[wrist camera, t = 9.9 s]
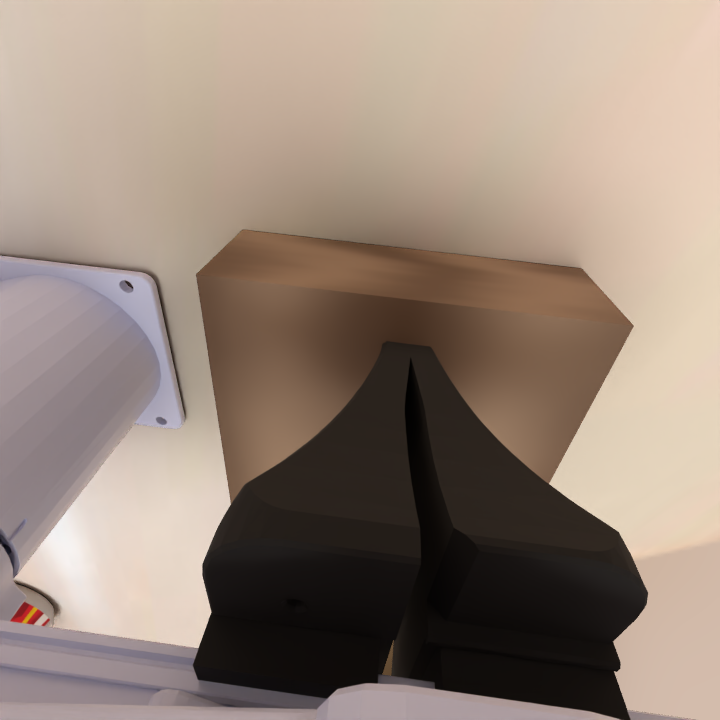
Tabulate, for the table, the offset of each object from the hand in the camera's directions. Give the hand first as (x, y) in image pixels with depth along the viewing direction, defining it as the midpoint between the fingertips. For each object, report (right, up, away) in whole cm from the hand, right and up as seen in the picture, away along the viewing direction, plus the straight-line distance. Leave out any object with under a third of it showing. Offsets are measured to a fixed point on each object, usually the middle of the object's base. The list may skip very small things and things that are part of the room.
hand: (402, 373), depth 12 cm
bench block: (0, 0, +6) cm, 6 cm away
